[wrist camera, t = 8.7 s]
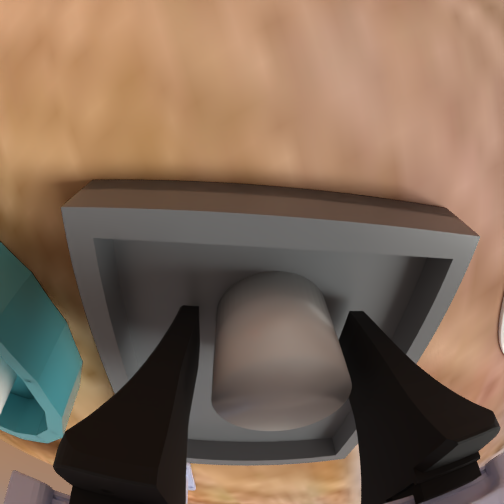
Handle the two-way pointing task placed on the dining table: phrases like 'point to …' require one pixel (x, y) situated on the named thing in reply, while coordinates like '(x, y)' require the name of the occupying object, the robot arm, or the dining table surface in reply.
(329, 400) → the stone
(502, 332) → the ceiling medallion
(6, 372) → the stone
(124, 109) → the dining table surface
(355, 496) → the dining table surface
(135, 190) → the tray
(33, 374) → the bowl
